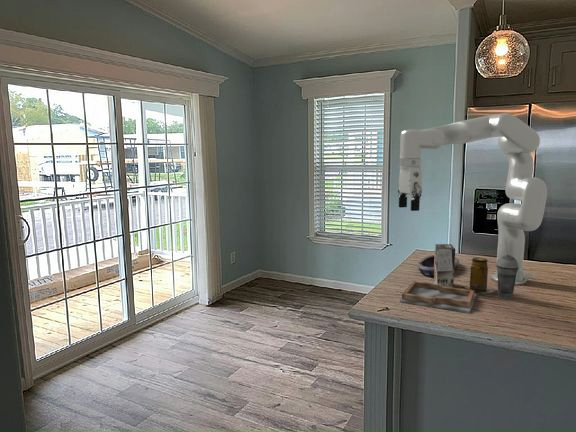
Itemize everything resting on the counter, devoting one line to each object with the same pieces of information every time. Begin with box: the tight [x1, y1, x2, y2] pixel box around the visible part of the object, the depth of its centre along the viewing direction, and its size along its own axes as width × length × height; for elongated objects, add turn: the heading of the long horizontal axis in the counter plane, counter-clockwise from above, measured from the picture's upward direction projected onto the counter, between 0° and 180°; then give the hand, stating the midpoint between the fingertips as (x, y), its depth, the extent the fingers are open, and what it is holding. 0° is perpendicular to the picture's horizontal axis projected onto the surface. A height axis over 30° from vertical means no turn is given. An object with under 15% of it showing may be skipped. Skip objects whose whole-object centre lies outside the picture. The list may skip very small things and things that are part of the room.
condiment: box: [463, 257, 495, 295], centre depth 164 cm, size 7×8×12 cm
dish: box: [416, 254, 460, 277], centre depth 193 cm, size 16×31×5 cm, turn 141°
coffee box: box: [433, 243, 457, 288], centre depth 168 cm, size 9×6×16 cm
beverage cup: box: [495, 243, 519, 300], centre depth 155 cm, size 7×7×20 cm
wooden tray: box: [399, 280, 477, 314], centre depth 155 cm, size 23×19×3 cm
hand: (408, 208), depth 163 cm, fingers open, 9 cm apart
